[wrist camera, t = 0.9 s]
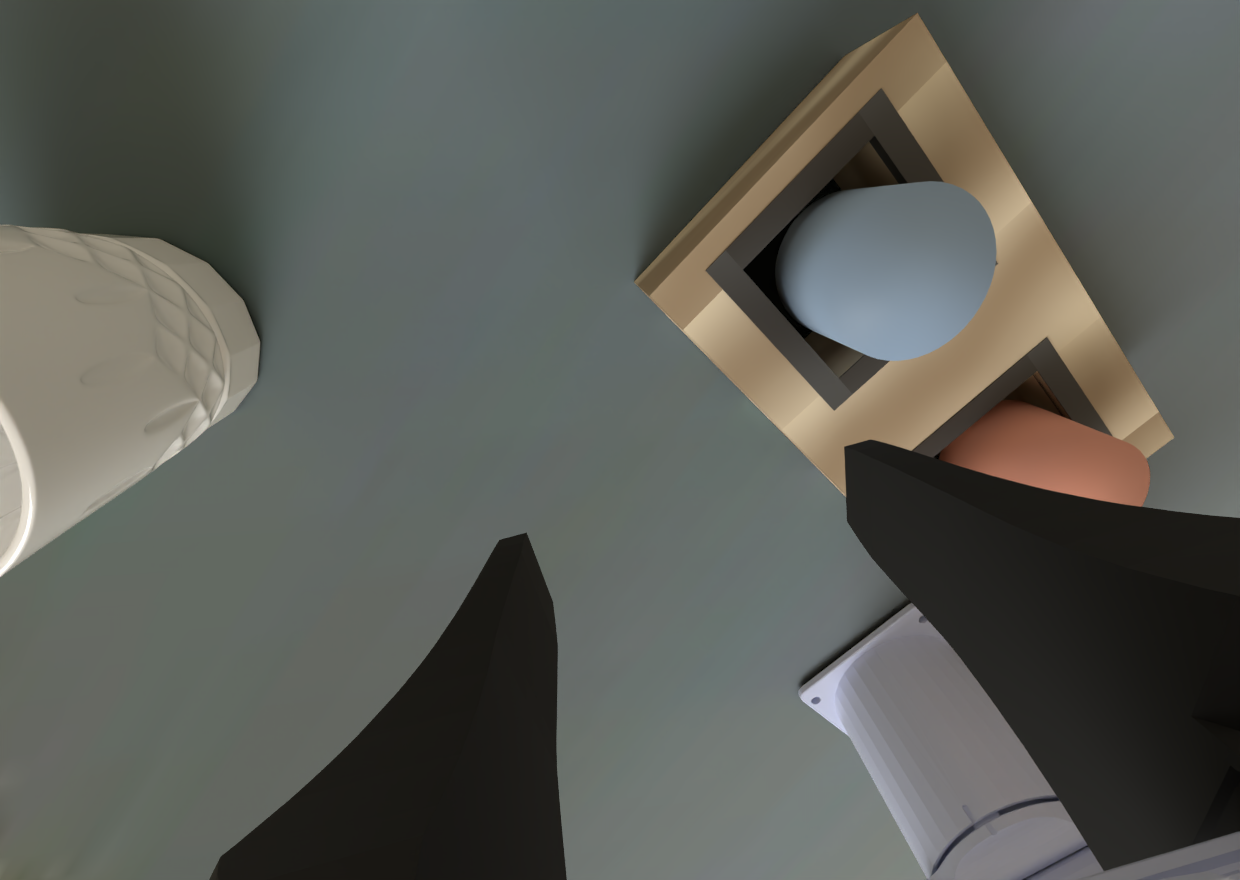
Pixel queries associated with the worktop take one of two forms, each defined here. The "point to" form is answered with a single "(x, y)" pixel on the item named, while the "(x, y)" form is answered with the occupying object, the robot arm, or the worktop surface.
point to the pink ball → (1051, 454)
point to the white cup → (105, 371)
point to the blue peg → (888, 267)
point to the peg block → (945, 378)
